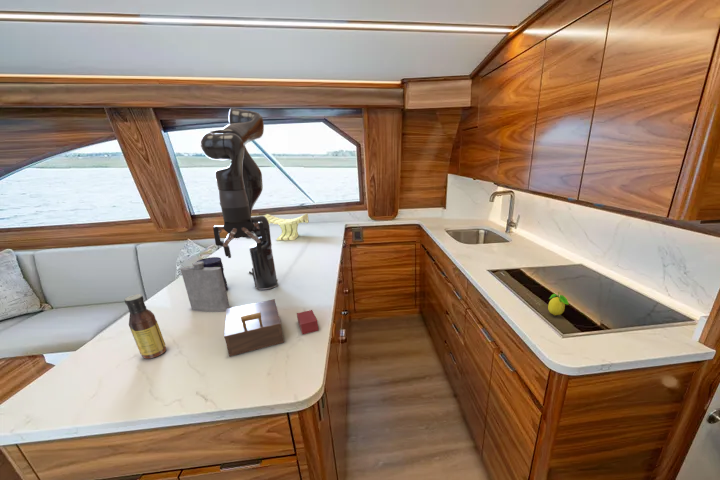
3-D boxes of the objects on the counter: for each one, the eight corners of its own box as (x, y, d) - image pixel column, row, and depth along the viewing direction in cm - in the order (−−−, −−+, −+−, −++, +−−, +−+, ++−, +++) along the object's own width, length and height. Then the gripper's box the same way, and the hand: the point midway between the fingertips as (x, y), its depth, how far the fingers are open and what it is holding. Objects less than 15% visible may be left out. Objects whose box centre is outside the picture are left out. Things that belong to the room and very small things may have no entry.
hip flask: (231, 307, 121) (221, 261, 115) (225, 312, 117) (213, 264, 111) (195, 306, 123) (183, 260, 116) (188, 310, 119) (174, 263, 112)
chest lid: (281, 325, 94) (278, 311, 92) (224, 338, 87) (220, 324, 86) (275, 300, 111) (272, 288, 109) (226, 310, 104) (223, 297, 102)
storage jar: (233, 289, 139) (226, 258, 134) (213, 297, 130) (205, 265, 125) (219, 285, 143) (211, 256, 138) (198, 293, 134) (190, 262, 129)
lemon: (565, 321, 107) (570, 296, 104) (547, 318, 109) (551, 294, 106) (562, 312, 113) (567, 289, 110) (545, 310, 115) (549, 286, 112)
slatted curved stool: (310, 234, 239) (307, 212, 233) (305, 239, 224) (302, 216, 218) (272, 235, 237) (268, 213, 231) (264, 240, 222) (260, 217, 216)
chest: (283, 342, 97) (280, 324, 95) (229, 356, 91) (224, 337, 88) (277, 317, 113) (275, 301, 111) (231, 327, 106) (226, 310, 104)
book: (318, 330, 104) (317, 320, 103) (302, 334, 102) (300, 324, 100) (313, 319, 111) (312, 309, 110) (298, 322, 109) (296, 313, 108)
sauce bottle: (151, 348, 95) (131, 292, 88) (171, 347, 96) (153, 291, 89) (136, 361, 89) (113, 301, 82) (158, 359, 90) (137, 300, 83)
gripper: (259, 201, 96) (267, 249, 102) (208, 204, 90) (220, 255, 96) (260, 205, 90) (269, 255, 96) (206, 208, 84) (218, 262, 90)
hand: (244, 255), depth 96 cm, fingers open, 8 cm apart
